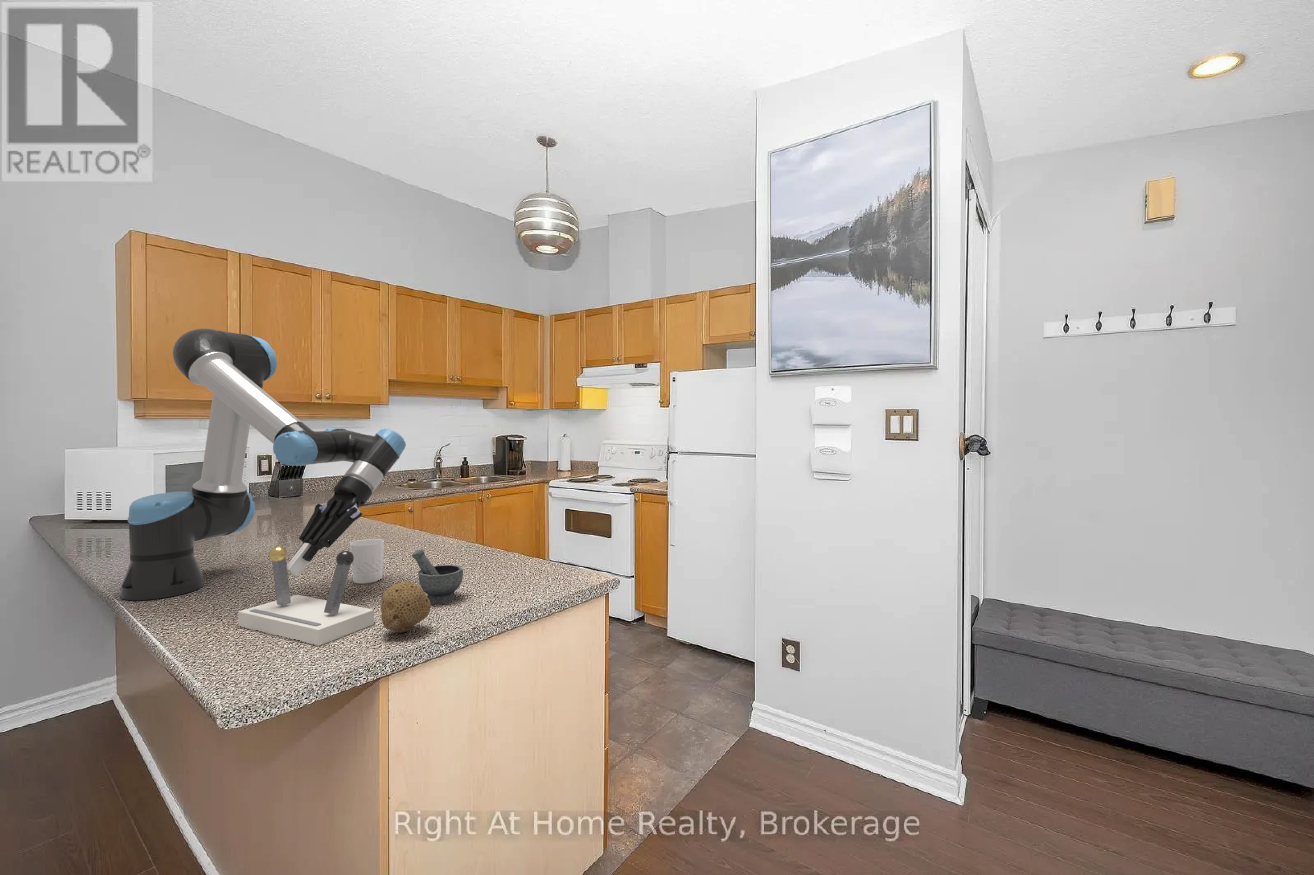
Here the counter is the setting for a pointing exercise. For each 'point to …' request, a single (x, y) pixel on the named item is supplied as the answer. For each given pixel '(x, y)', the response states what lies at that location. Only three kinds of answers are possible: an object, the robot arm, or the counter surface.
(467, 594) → the counter surface
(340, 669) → the counter surface
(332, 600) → the black lever
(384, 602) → the natural sponge
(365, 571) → the white cup
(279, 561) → the brass lever
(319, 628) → the control panel
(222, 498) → the robot arm
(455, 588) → the mortar and pestle
